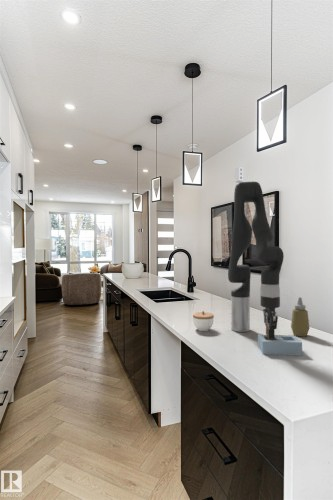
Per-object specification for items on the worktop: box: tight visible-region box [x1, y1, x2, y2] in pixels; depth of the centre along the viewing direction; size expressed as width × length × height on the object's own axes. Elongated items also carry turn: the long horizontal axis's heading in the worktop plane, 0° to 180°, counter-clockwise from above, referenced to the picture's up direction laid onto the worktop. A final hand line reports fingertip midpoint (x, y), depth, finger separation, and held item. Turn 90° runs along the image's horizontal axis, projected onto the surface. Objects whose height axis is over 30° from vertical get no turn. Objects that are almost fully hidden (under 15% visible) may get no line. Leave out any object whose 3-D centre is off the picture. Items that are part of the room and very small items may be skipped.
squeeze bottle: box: [290, 297, 310, 338], centre depth 138 cm, size 8×8×18 cm
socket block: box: [257, 334, 303, 356], centre depth 118 cm, size 9×15×5 cm, turn 84°
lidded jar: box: [192, 310, 215, 332], centre depth 149 cm, size 11×11×9 cm
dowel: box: [265, 320, 274, 340], centre depth 118 cm, size 3×3×10 cm
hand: (270, 336), depth 118 cm, fingers open, 3 cm apart
